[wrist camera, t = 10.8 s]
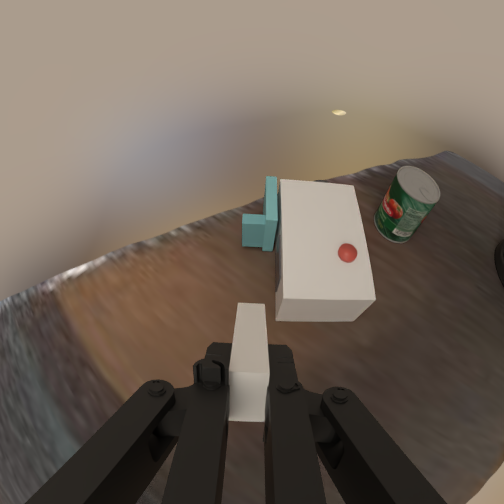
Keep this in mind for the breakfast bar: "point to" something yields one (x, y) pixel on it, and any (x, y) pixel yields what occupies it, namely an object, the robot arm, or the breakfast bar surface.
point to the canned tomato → (406, 204)
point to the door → (262, 220)
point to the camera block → (320, 253)
